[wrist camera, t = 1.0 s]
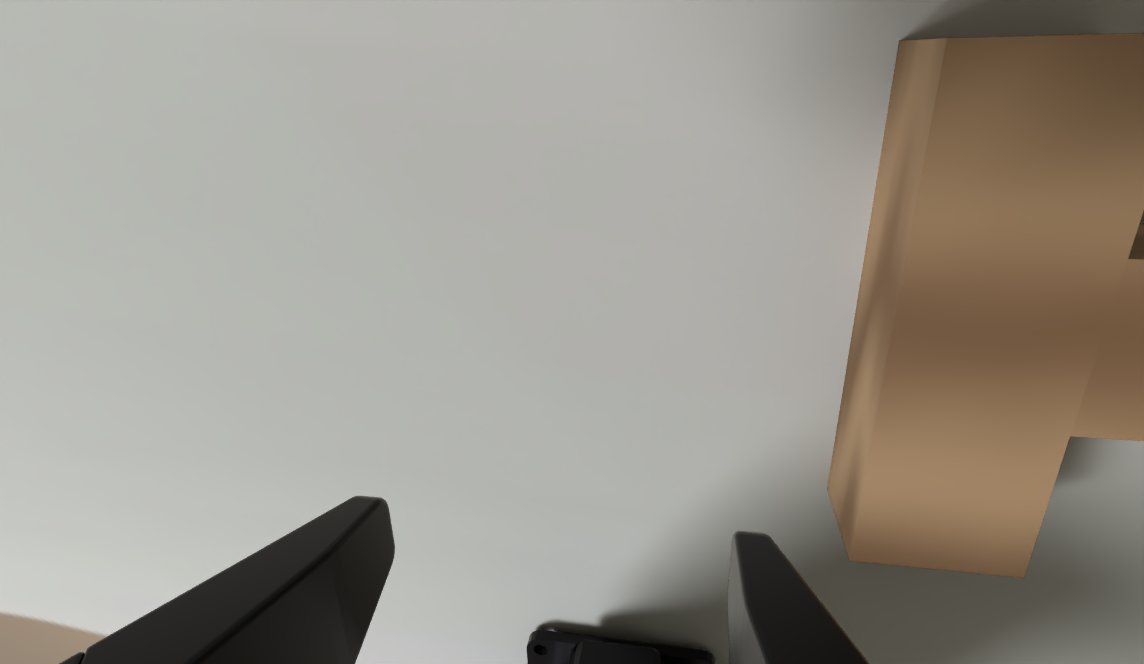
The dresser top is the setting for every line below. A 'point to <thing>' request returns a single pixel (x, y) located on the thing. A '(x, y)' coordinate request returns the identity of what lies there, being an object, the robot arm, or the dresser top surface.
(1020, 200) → the t block
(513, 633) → the dresser top surface
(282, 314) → the dresser top surface
